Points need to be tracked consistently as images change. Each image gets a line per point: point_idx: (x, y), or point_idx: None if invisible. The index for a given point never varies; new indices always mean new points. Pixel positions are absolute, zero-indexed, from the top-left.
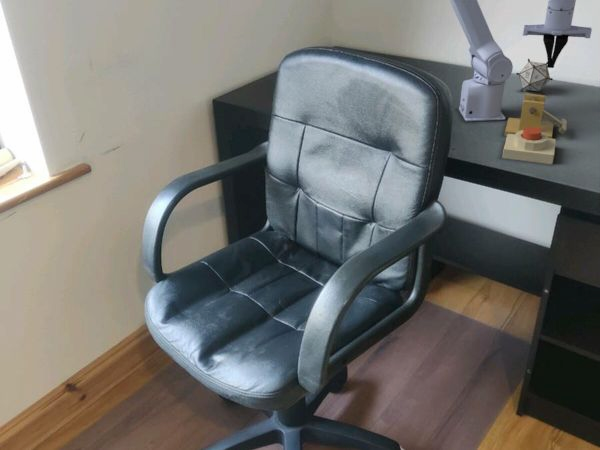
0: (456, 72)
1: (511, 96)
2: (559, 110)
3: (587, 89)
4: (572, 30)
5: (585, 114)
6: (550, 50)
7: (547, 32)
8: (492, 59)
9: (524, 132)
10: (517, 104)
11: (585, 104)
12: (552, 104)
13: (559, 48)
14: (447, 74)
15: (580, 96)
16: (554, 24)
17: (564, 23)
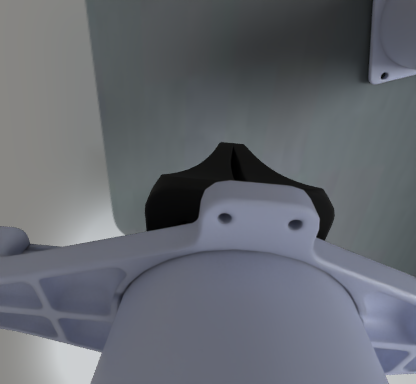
0: None
1: (299, 172)
2: (186, 92)
3: (127, 224)
4: (90, 266)
5: (117, 71)
6: (255, 172)
7: (344, 251)
8: None
9: None
10: (295, 120)
11: (123, 143)
12: (202, 132)
13: (204, 172)
14: (412, 273)
15: (138, 188)
16: (315, 334)
17: (171, 345)
